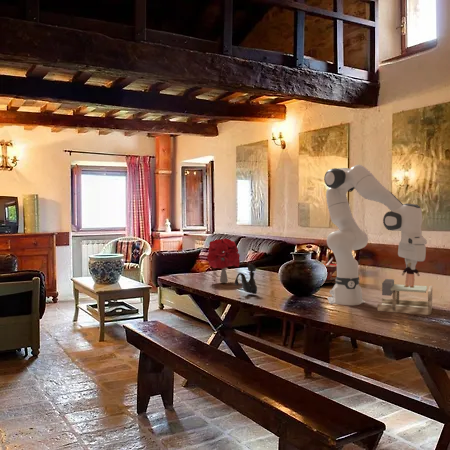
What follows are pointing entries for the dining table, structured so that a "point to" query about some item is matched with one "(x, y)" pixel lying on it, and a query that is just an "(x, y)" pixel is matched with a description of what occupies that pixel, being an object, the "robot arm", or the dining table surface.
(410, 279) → the grandmother figurine
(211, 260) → the bouquet
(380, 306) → the frame
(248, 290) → the cat figurine
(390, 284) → the hammer
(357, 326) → the dining table surface
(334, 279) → the stew
